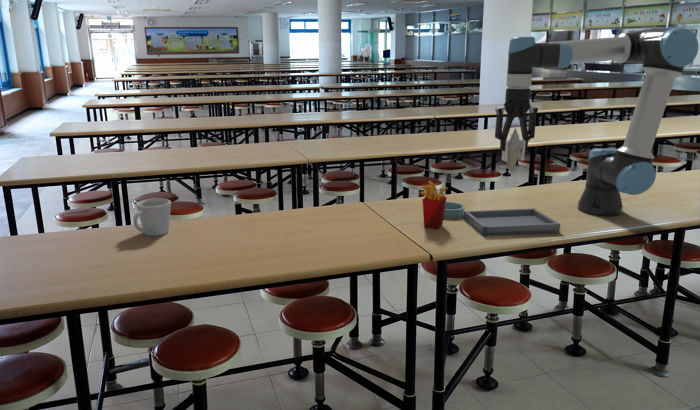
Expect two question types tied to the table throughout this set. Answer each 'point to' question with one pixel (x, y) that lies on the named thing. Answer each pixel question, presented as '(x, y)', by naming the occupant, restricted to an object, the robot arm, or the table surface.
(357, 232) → the table surface
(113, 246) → the table surface
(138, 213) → the mug
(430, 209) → the french fries
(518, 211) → the tray
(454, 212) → the teal ring
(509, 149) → the soft serve swirl
